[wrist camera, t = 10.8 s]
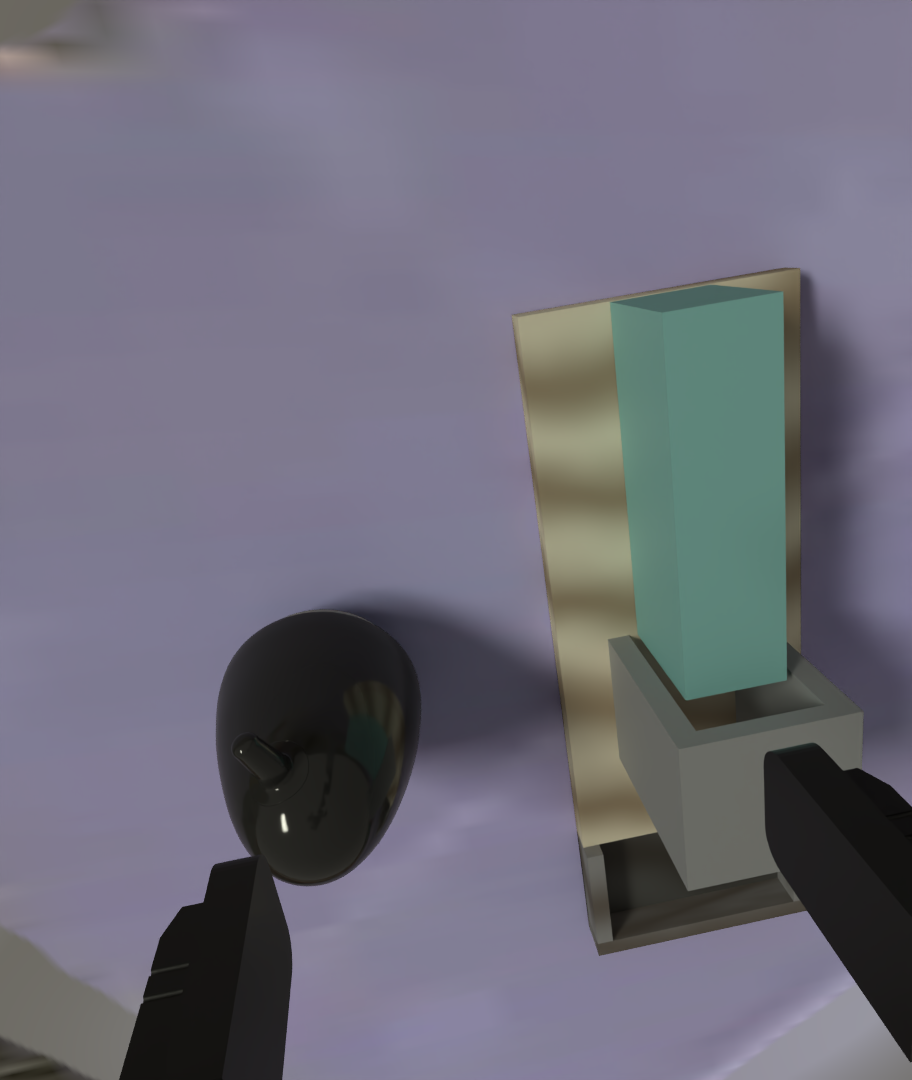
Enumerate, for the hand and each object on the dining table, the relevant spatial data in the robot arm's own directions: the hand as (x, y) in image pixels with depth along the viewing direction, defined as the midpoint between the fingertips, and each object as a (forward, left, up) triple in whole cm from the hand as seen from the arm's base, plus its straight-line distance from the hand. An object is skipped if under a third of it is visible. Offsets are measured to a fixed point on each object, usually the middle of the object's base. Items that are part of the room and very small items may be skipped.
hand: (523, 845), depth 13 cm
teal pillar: (+4, +13, -29) cm, 32 cm away
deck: (+15, +13, -30) cm, 36 cm away
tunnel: (+17, +13, -29) cm, 36 cm away
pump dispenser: (+12, -7, -30) cm, 33 cm away
